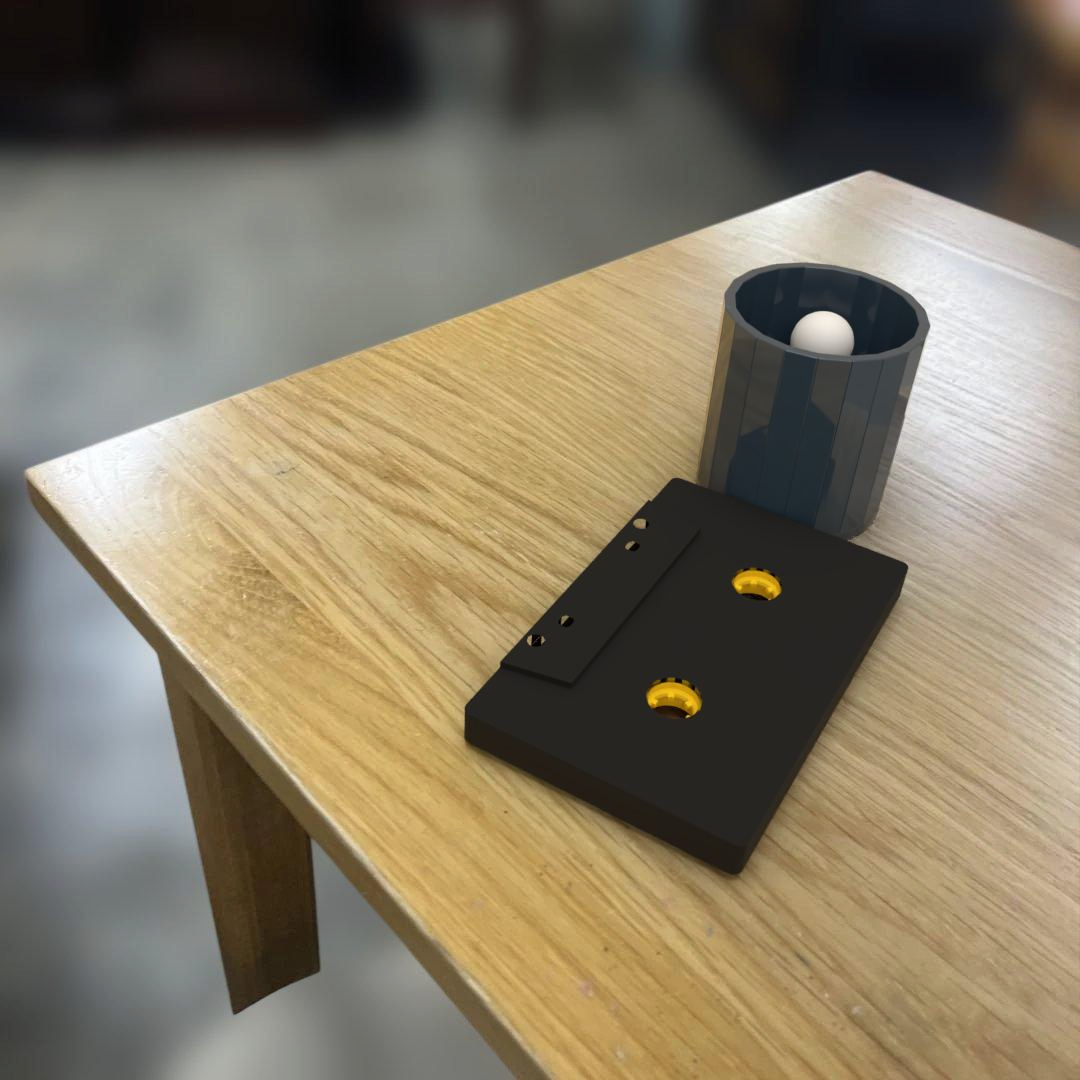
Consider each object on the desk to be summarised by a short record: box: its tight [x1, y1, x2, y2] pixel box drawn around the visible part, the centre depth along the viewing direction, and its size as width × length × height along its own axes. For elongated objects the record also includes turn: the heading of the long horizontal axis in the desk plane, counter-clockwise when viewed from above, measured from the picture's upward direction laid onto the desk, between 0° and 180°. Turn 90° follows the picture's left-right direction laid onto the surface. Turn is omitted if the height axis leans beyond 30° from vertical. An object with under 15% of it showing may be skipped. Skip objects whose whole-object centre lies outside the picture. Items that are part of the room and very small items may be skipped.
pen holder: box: [695, 261, 931, 541], centre depth 58 cm, size 9×9×10 cm
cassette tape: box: [463, 477, 909, 876], centre depth 50 cm, size 18×12×2 cm, turn 149°
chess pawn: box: [790, 311, 854, 356], centre depth 57 cm, size 5×5×9 cm
